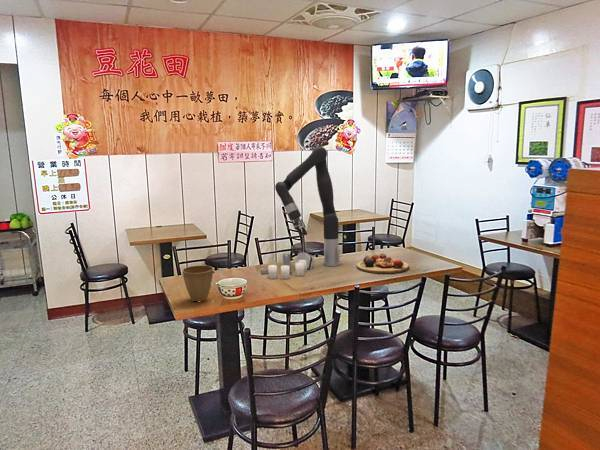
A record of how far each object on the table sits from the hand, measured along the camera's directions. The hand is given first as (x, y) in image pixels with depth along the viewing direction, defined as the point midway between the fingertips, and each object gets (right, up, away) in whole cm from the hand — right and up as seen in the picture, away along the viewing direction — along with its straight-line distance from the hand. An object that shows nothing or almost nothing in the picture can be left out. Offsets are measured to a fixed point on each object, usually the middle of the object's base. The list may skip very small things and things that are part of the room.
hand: (303, 235), depth 267 cm
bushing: (-10, -23, -7) cm, 26 cm away
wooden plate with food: (+49, -21, +3) cm, 53 cm away
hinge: (0, -21, +10) cm, 23 cm away
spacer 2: (-11, -24, -15) cm, 31 cm away
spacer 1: (-18, -24, -13) cm, 33 cm away
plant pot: (-52, -31, -50) cm, 79 cm away
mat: (-22, -23, -2) cm, 32 cm away
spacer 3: (-3, -23, -10) cm, 25 cm away
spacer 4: (-1, -22, -2) cm, 22 cm away
